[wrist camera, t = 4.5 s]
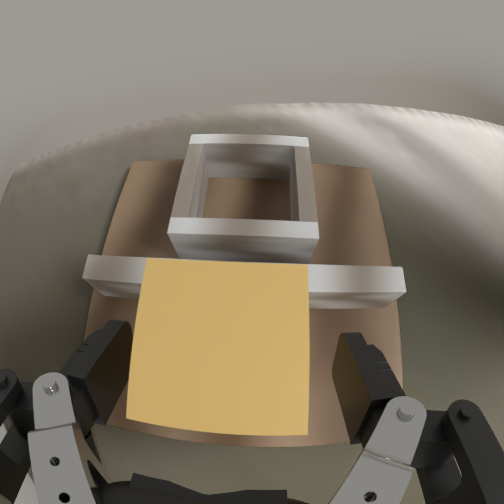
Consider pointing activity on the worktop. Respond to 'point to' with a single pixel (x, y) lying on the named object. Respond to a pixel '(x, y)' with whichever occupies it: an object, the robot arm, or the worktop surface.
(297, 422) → the block
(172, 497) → the robot arm
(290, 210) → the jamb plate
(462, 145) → the worktop surface
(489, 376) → the worktop surface
